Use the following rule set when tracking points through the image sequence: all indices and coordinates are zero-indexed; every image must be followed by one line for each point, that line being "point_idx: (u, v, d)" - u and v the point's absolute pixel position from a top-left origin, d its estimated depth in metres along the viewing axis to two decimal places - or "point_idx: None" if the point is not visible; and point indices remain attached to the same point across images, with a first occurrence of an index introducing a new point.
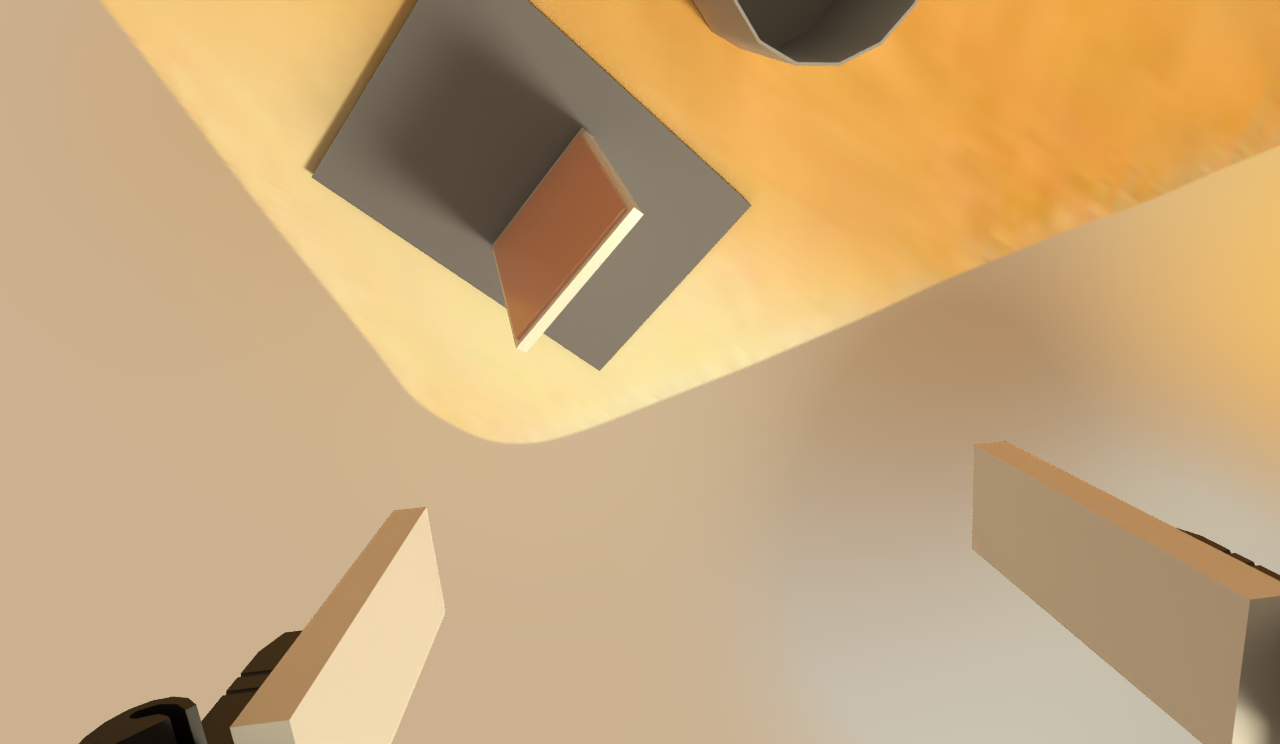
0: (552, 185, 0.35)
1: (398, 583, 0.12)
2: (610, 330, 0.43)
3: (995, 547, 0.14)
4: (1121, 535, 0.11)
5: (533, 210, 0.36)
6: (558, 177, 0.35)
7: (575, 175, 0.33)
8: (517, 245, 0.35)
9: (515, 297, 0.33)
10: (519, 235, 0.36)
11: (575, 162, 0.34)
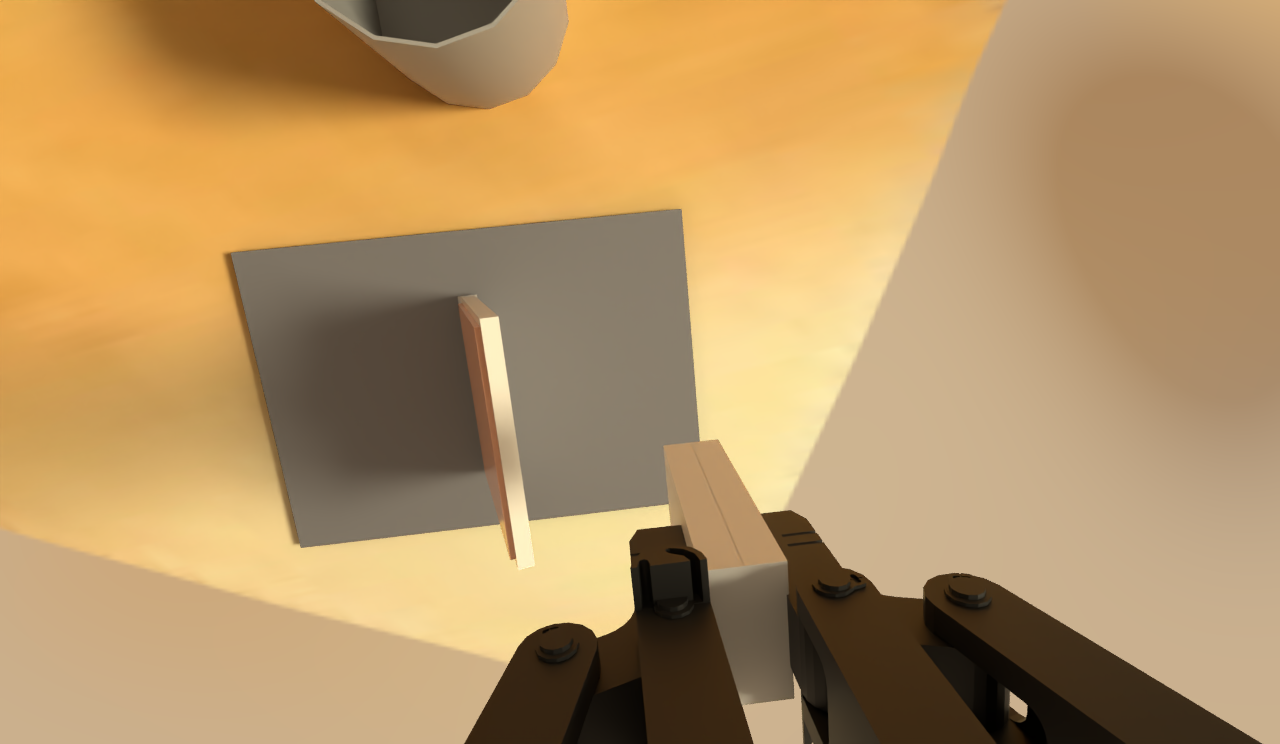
0: (470, 370, 0.29)
1: None
2: None
3: None
4: None
5: (476, 408, 0.29)
6: (468, 358, 0.29)
7: (467, 342, 0.27)
8: (484, 454, 0.28)
9: (498, 511, 0.25)
10: (482, 443, 0.29)
11: (464, 331, 0.28)
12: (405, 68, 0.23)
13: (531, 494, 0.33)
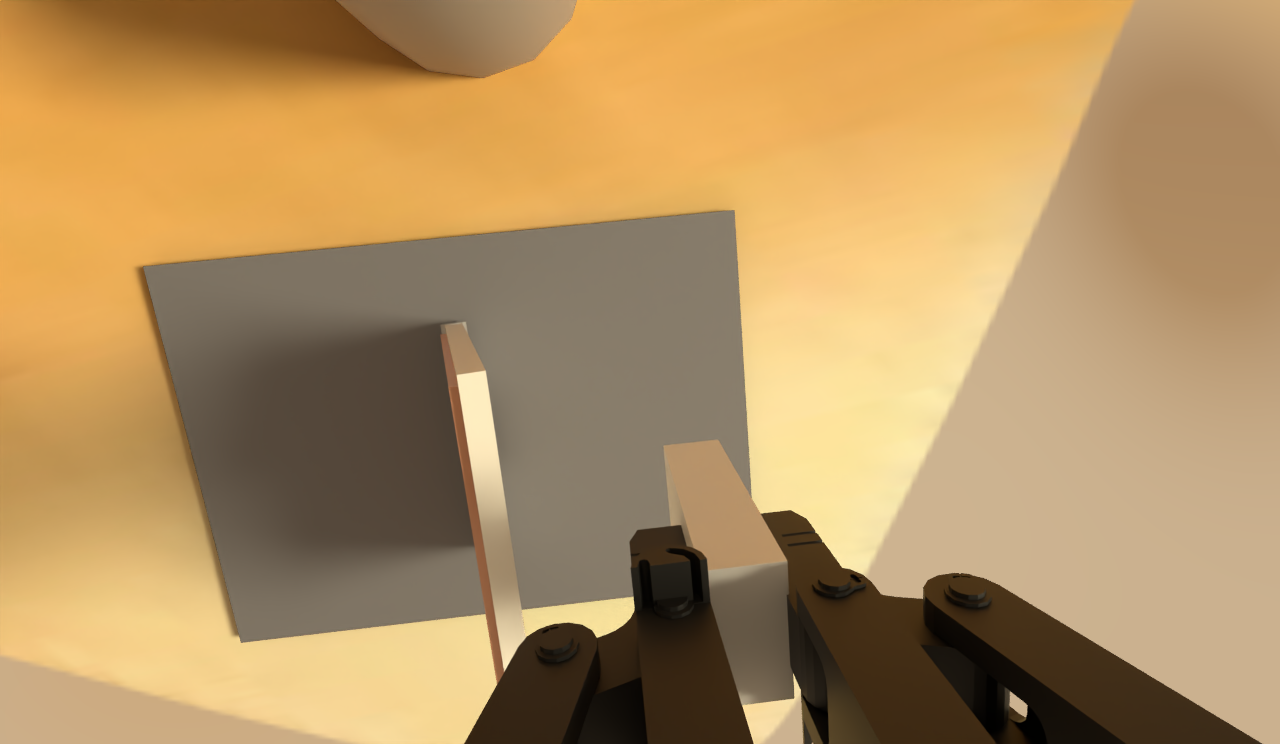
0: None
1: None
2: None
3: None
4: None
5: None
6: None
7: None
8: None
9: None
10: None
11: None
12: (357, 6, 0.16)
13: (535, 575, 0.26)
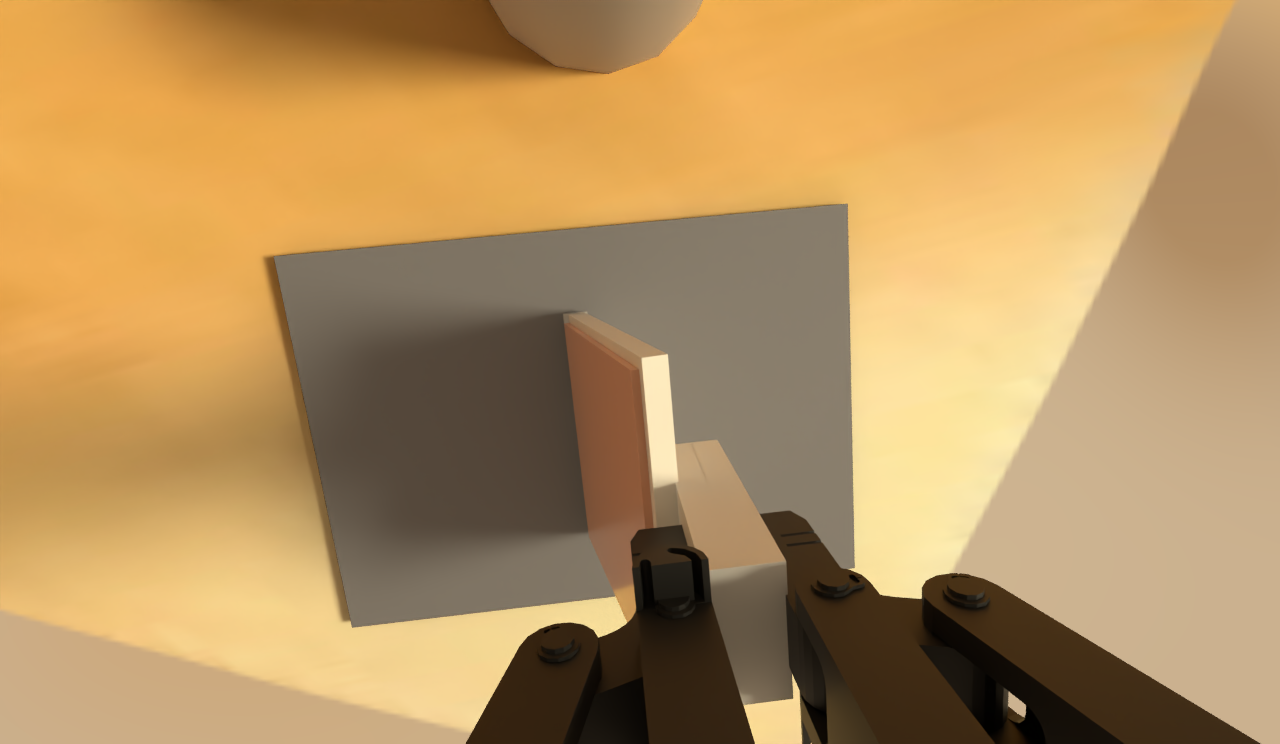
0: (580, 411, 0.22)
1: None
2: (820, 508, 0.26)
3: None
4: None
5: (585, 459, 0.22)
6: (578, 395, 0.22)
7: (584, 377, 0.20)
8: (598, 521, 0.22)
9: (629, 612, 0.18)
10: (593, 506, 0.22)
11: (577, 361, 0.21)
12: (533, 1, 0.17)
13: None
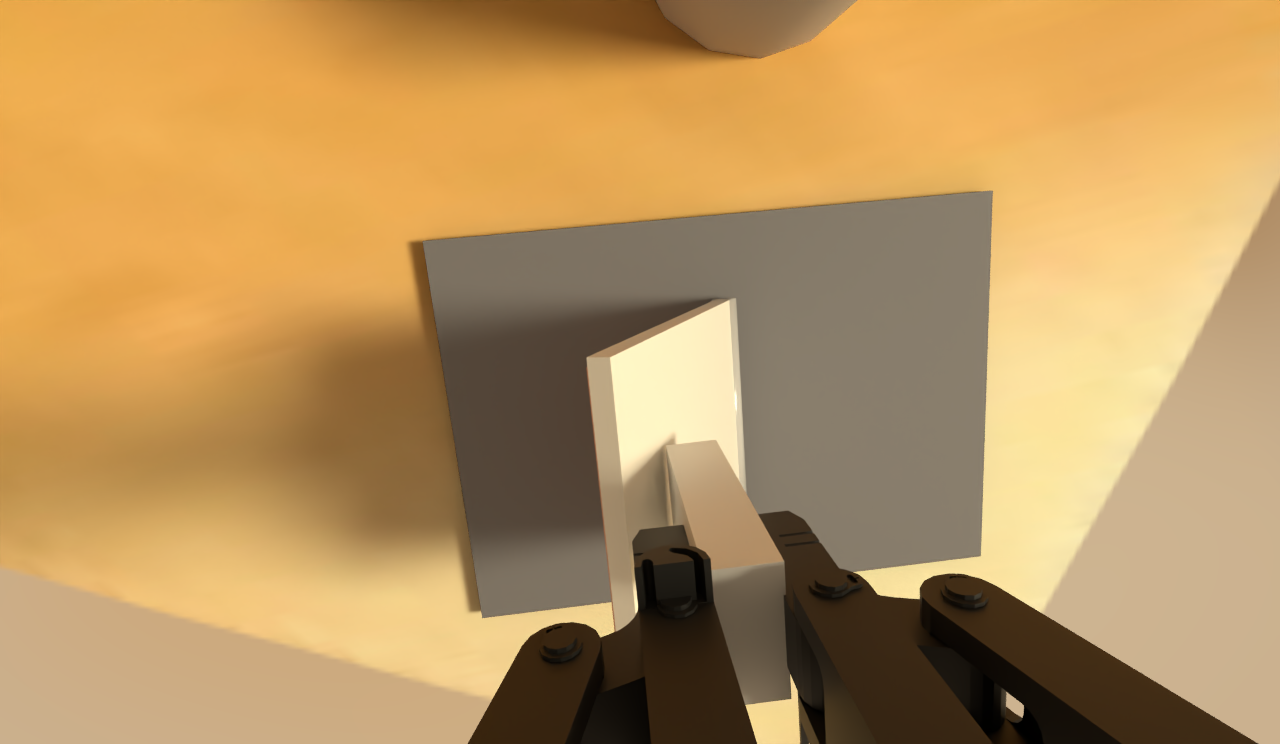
0: None
1: None
2: (950, 496, 0.26)
3: None
4: None
5: None
6: None
7: None
8: None
9: None
10: None
11: None
12: None
13: None
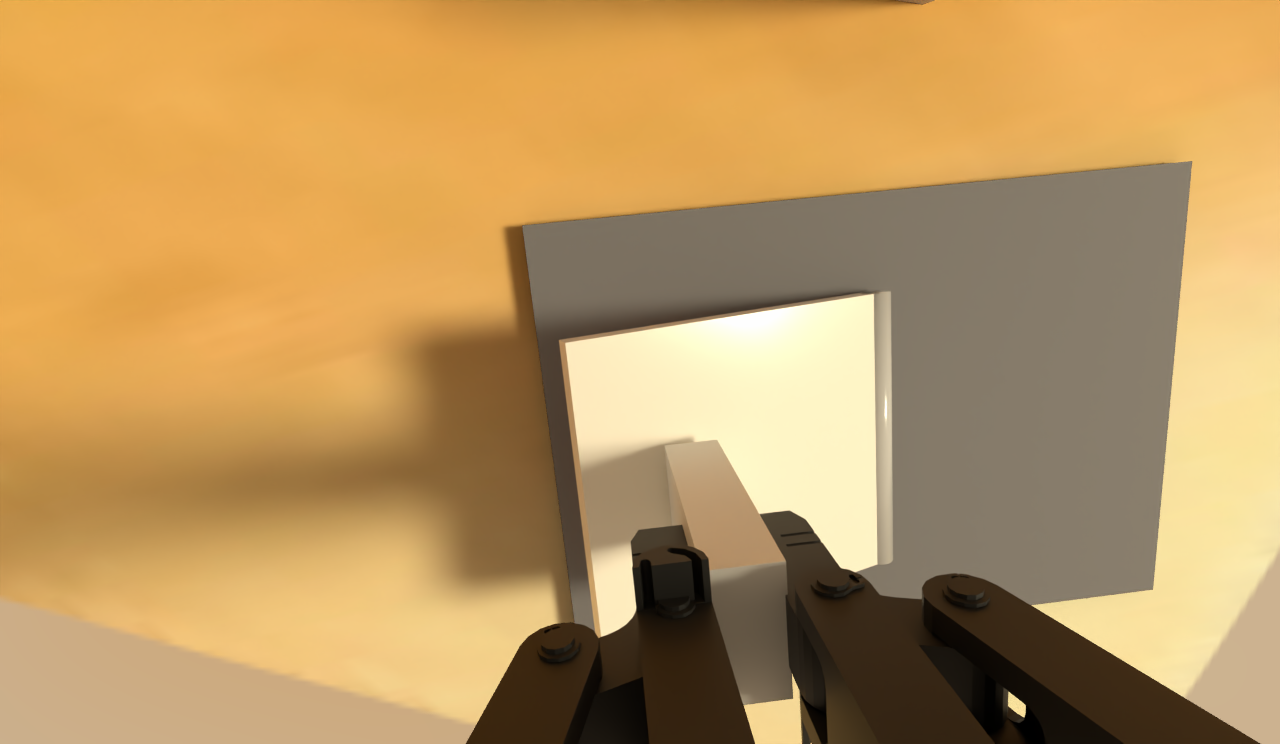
0: None
1: None
2: (1121, 520, 0.22)
3: None
4: None
5: None
6: None
7: None
8: None
9: None
10: None
11: None
12: None
13: (914, 583, 0.22)
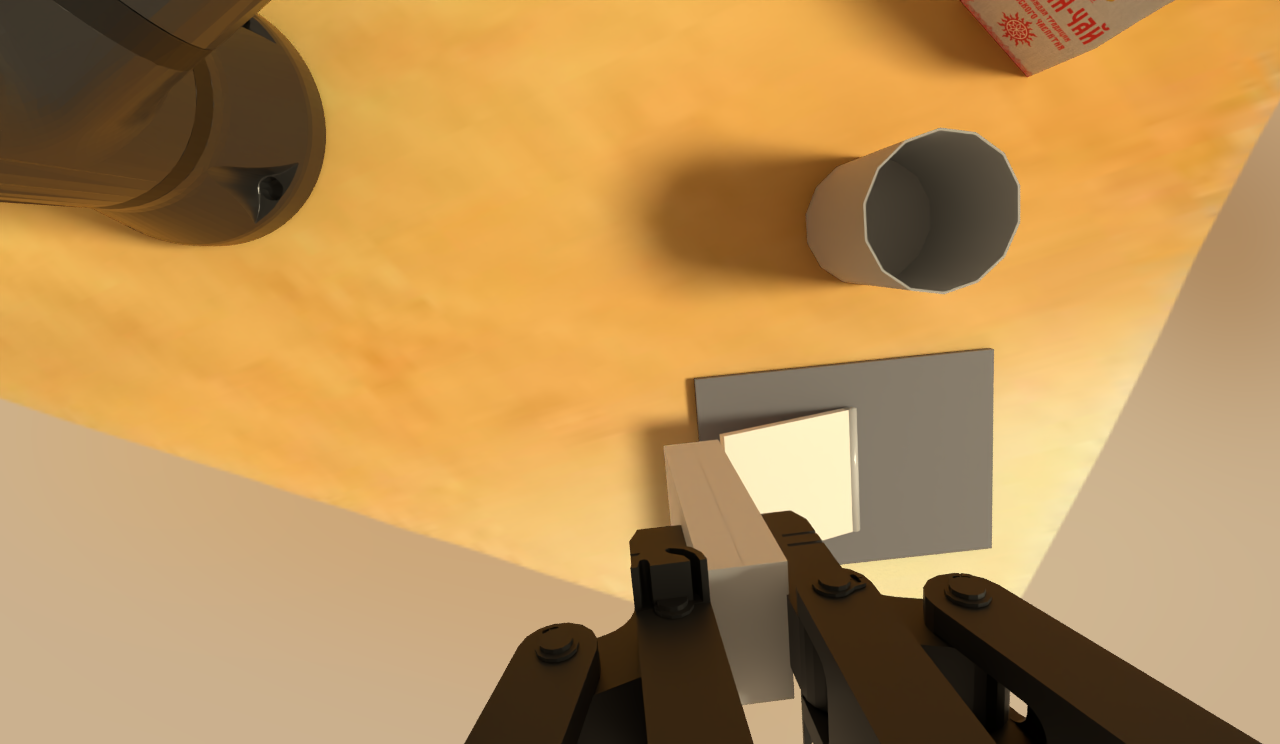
0: None
1: None
2: (973, 513, 0.46)
3: None
4: None
5: None
6: None
7: None
8: None
9: None
10: None
11: None
12: (875, 284, 0.37)
13: (871, 542, 0.46)
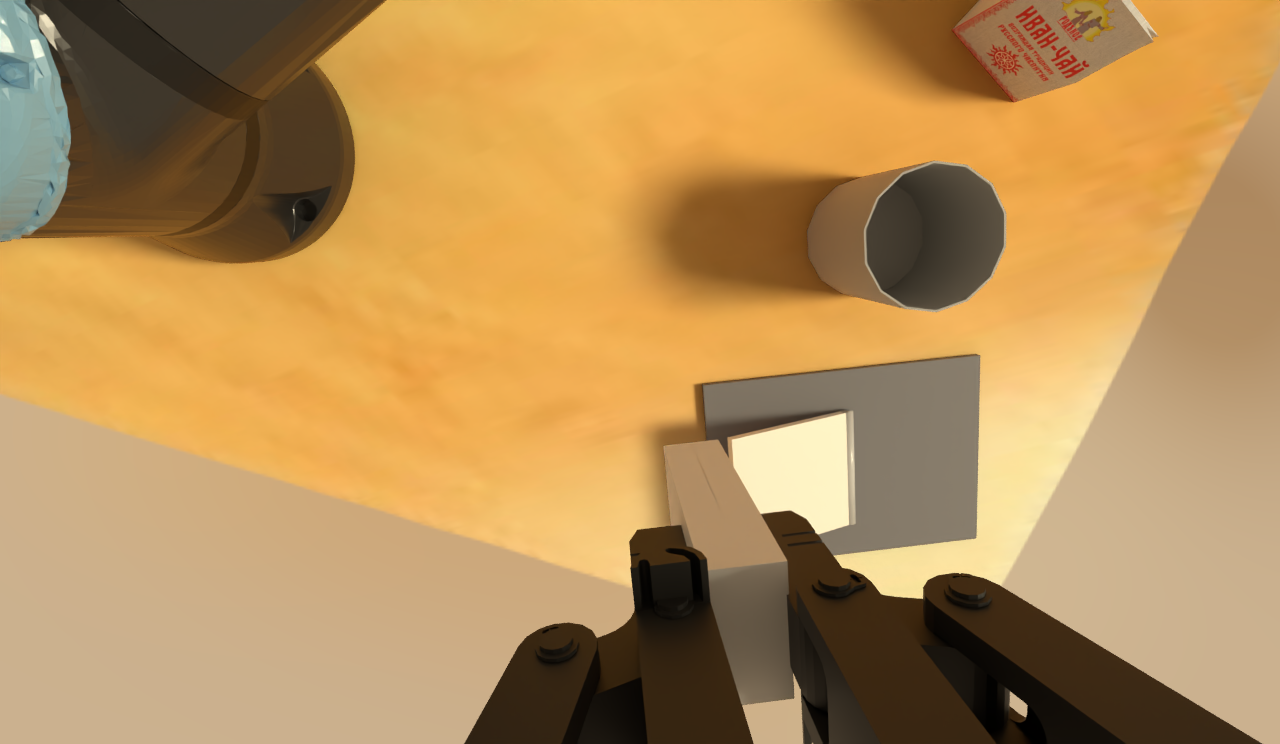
0: None
1: None
2: (959, 506, 0.50)
3: None
4: None
5: None
6: None
7: None
8: None
9: None
10: None
11: None
12: (872, 299, 0.41)
13: (866, 534, 0.50)
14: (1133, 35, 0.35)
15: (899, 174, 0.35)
